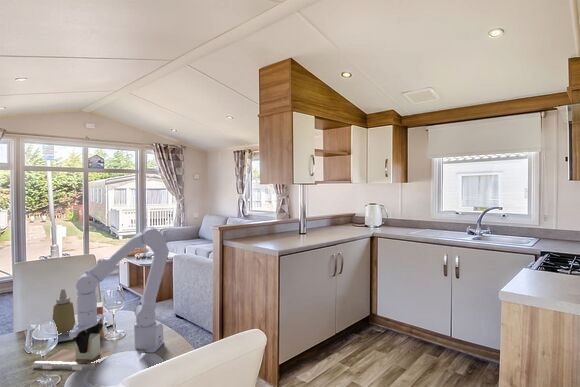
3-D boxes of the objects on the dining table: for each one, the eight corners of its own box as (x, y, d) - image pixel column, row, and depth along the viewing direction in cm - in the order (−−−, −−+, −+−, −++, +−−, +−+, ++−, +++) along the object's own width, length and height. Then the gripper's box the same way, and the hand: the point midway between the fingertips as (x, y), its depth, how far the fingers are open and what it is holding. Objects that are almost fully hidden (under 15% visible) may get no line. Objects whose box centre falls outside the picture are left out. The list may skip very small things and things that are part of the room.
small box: (79, 344, 125) (78, 310, 125) (80, 337, 131) (79, 305, 130) (103, 339, 129) (102, 306, 129) (103, 333, 134) (103, 301, 134)
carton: (84, 353, 115) (83, 333, 115) (100, 353, 115) (99, 333, 115) (75, 359, 111) (75, 338, 111) (92, 359, 111) (92, 338, 111)
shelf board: (115, 354, 117) (115, 346, 117) (91, 374, 104) (91, 365, 104) (62, 352, 119) (62, 345, 118) (32, 372, 106) (32, 363, 106)
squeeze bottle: (66, 337, 131) (66, 292, 131) (46, 337, 131) (45, 292, 131) (80, 328, 139) (79, 286, 139) (61, 329, 139) (60, 286, 139)
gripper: (90, 302, 120) (91, 339, 121) (59, 317, 106) (60, 359, 106) (109, 302, 120) (109, 339, 120) (80, 318, 105) (81, 360, 105)
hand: (88, 349), depth 113 cm, fingers closed on carton, 4 cm apart
